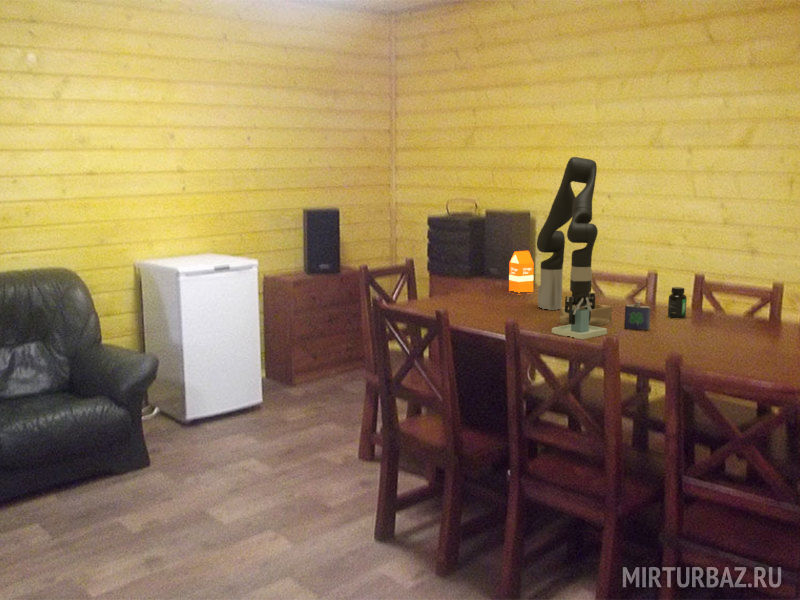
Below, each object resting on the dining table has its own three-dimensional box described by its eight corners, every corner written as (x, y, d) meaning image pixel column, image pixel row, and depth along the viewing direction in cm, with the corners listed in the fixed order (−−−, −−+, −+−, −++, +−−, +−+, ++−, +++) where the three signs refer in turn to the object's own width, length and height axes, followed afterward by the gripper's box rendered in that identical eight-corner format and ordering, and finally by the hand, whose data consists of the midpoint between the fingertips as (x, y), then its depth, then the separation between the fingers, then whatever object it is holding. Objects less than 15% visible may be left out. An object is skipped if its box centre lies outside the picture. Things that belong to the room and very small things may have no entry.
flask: (650, 330, 303) (651, 301, 302) (648, 331, 301) (649, 302, 299) (624, 328, 308) (625, 300, 306) (623, 329, 305) (624, 301, 303)
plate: (551, 333, 299) (551, 327, 299) (576, 328, 307) (576, 323, 307) (582, 339, 288) (582, 334, 288) (607, 334, 297) (607, 328, 296)
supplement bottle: (688, 319, 324) (689, 289, 322) (670, 319, 324) (672, 289, 322) (682, 315, 330) (683, 286, 328) (665, 315, 330) (666, 286, 328)
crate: (559, 323, 317) (559, 306, 316) (585, 318, 326) (585, 302, 325) (585, 328, 307) (585, 311, 306) (611, 323, 317) (611, 306, 315)
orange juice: (533, 292, 390) (534, 251, 387) (518, 294, 386) (519, 252, 382) (523, 290, 397) (523, 249, 393) (508, 292, 392) (509, 250, 389)
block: (570, 330, 298) (571, 309, 297) (578, 329, 301) (579, 307, 299) (580, 332, 295) (581, 311, 293) (588, 331, 297) (589, 309, 296)
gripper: (585, 275, 302) (584, 318, 304) (559, 279, 293) (558, 323, 296) (601, 277, 296) (600, 321, 299) (576, 281, 287) (574, 327, 290)
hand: (579, 322), depth 297 cm, fingers open, 8 cm apart
